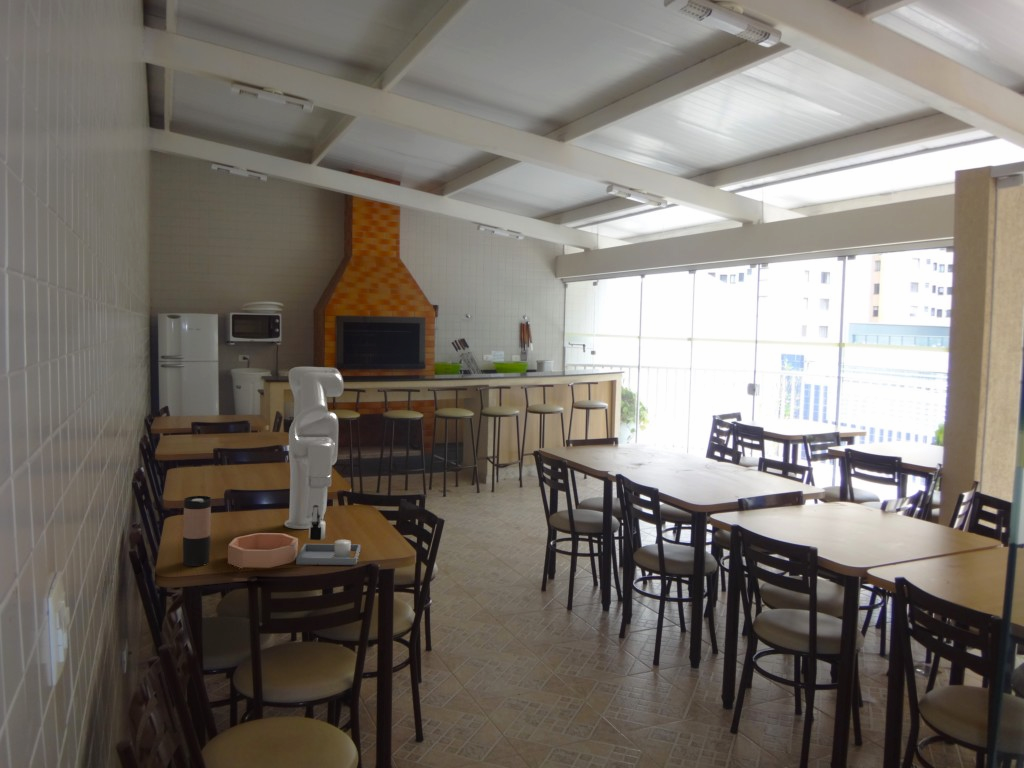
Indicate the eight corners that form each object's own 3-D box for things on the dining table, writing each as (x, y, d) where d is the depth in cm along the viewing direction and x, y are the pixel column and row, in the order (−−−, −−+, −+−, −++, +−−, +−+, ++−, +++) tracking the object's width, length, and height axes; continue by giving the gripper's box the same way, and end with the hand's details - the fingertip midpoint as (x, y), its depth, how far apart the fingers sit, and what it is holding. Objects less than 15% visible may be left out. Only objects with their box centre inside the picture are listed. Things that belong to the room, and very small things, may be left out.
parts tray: (304, 552, 235) (304, 543, 235) (360, 552, 237) (360, 544, 237) (296, 566, 220) (296, 557, 220) (355, 567, 222) (356, 558, 222)
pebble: (335, 554, 231) (335, 539, 231) (351, 554, 232) (351, 539, 232) (333, 559, 226) (333, 543, 226) (349, 559, 227) (350, 544, 227)
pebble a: (310, 535, 231) (310, 519, 230) (325, 535, 231) (326, 520, 231) (307, 539, 226) (308, 524, 225) (323, 540, 226) (324, 524, 226)
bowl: (239, 550, 234) (239, 532, 233) (300, 551, 236) (301, 533, 236) (222, 569, 214) (223, 550, 214) (289, 570, 217) (290, 551, 216)
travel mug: (188, 559, 222) (189, 495, 221) (213, 559, 223) (214, 496, 222) (178, 566, 215) (179, 500, 214) (204, 567, 215) (206, 501, 214)
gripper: (310, 474, 235) (308, 528, 236) (302, 486, 218) (300, 545, 220) (334, 475, 236) (332, 529, 237) (327, 487, 219) (325, 545, 221)
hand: (316, 536), depth 229 cm, fingers closed on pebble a, 4 cm apart
